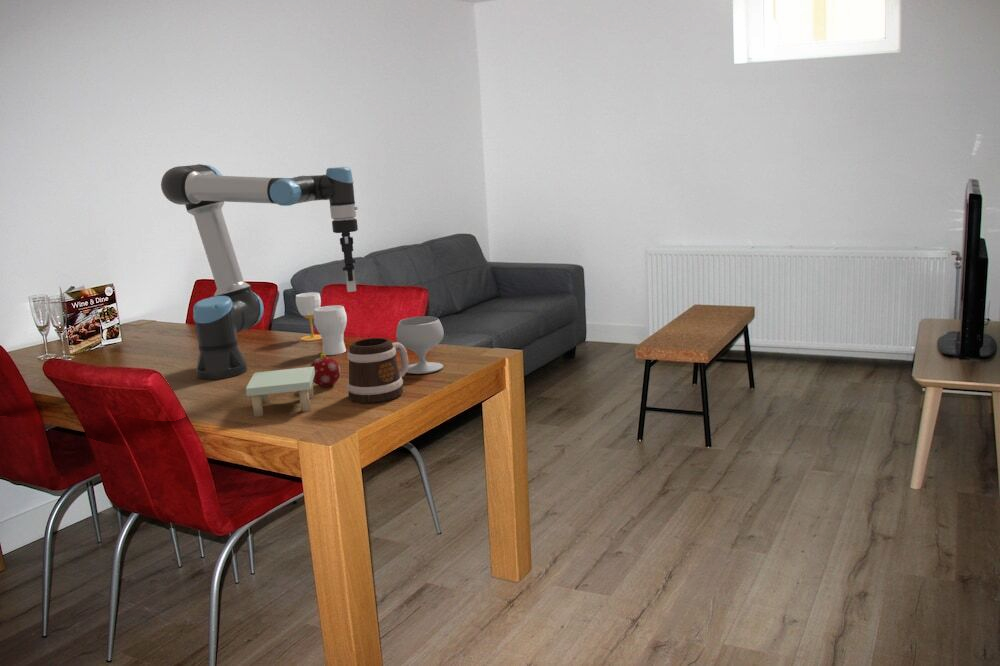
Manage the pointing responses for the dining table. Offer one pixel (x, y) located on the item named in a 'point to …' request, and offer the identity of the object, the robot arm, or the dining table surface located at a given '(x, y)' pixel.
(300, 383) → the mint green side table
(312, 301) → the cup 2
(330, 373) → the christmas ornament
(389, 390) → the mug
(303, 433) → the dining table surface
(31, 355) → the dining table surface
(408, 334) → the chalice
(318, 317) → the cup
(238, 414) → the dining table surface
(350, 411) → the dining table surface
